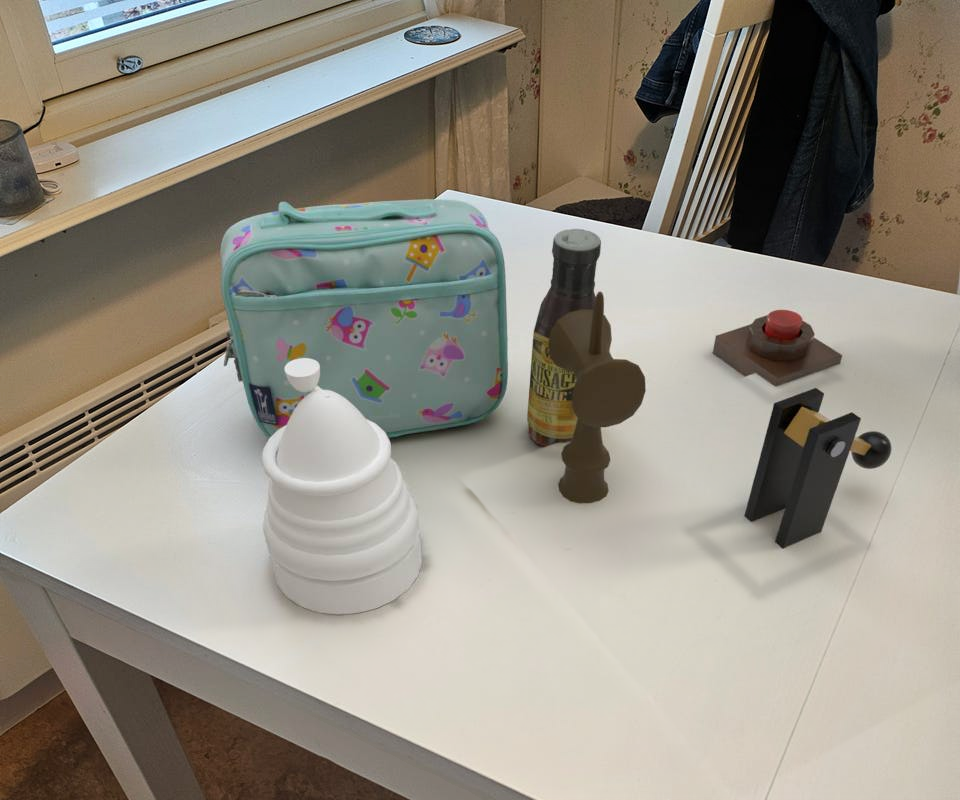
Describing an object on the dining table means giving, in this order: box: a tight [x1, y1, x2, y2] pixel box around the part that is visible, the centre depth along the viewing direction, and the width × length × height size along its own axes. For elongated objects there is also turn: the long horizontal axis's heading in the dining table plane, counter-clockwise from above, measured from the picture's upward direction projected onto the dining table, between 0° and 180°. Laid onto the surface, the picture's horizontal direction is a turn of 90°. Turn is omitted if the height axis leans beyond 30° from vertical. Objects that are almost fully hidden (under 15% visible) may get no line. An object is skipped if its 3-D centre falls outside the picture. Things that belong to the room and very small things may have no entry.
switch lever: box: [784, 407, 892, 470], centre depth 75 cm, size 13×3×3 cm, turn 119°
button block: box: [712, 314, 843, 387], centre depth 97 cm, size 9×10×4 cm
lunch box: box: [219, 198, 509, 439], centre depth 85 cm, size 27×10×21 cm, turn 102°
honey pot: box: [261, 358, 423, 616], centre depth 71 cm, size 13×13×18 cm
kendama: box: [548, 291, 647, 505], centre depth 76 cm, size 6×10×20 cm, turn 11°
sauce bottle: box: [526, 228, 602, 448], centre depth 83 cm, size 7×6×20 cm
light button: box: [764, 309, 804, 340], centre depth 95 cm, size 4×4×2 cm
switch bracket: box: [744, 387, 862, 549], centre depth 75 cm, size 12×9×13 cm
